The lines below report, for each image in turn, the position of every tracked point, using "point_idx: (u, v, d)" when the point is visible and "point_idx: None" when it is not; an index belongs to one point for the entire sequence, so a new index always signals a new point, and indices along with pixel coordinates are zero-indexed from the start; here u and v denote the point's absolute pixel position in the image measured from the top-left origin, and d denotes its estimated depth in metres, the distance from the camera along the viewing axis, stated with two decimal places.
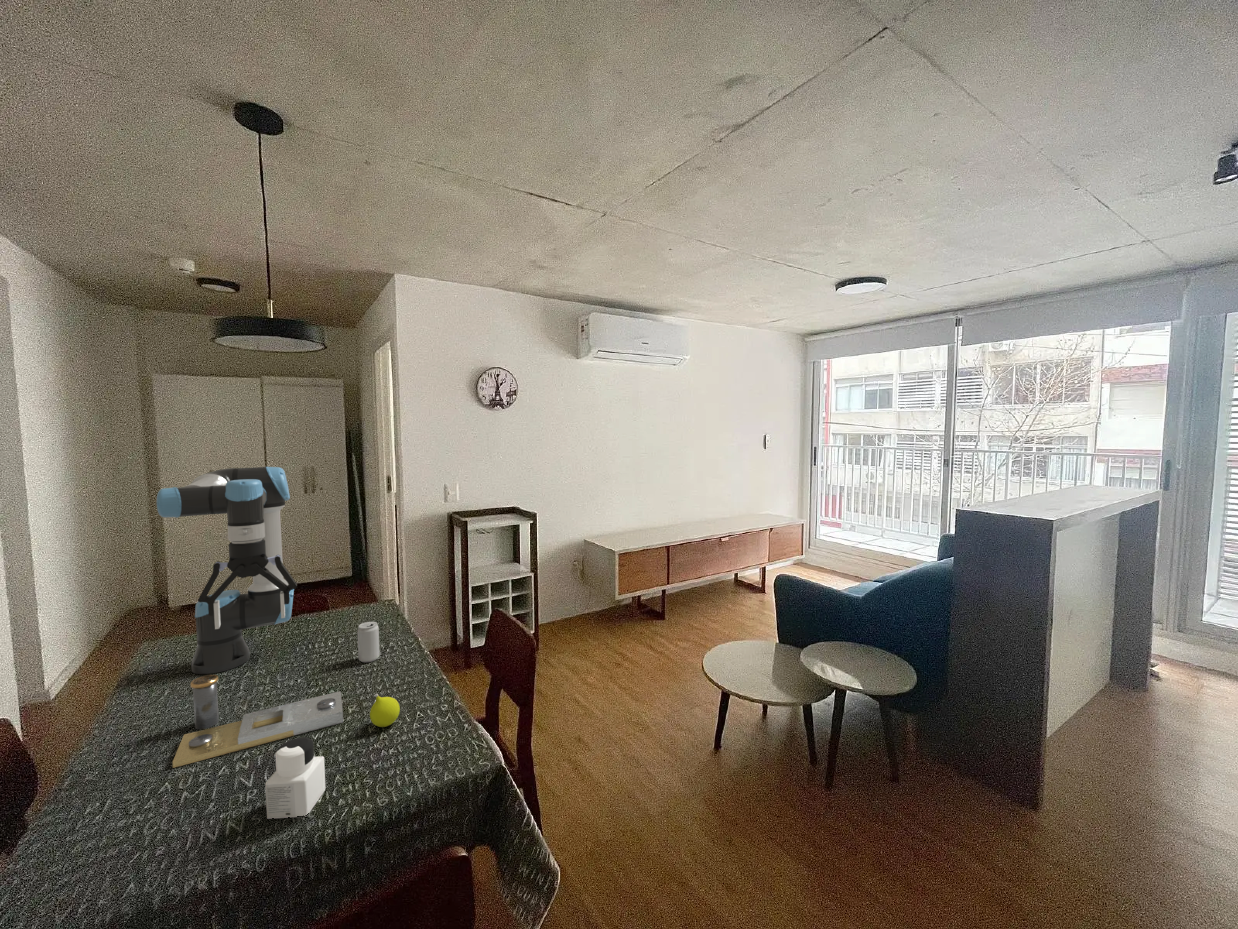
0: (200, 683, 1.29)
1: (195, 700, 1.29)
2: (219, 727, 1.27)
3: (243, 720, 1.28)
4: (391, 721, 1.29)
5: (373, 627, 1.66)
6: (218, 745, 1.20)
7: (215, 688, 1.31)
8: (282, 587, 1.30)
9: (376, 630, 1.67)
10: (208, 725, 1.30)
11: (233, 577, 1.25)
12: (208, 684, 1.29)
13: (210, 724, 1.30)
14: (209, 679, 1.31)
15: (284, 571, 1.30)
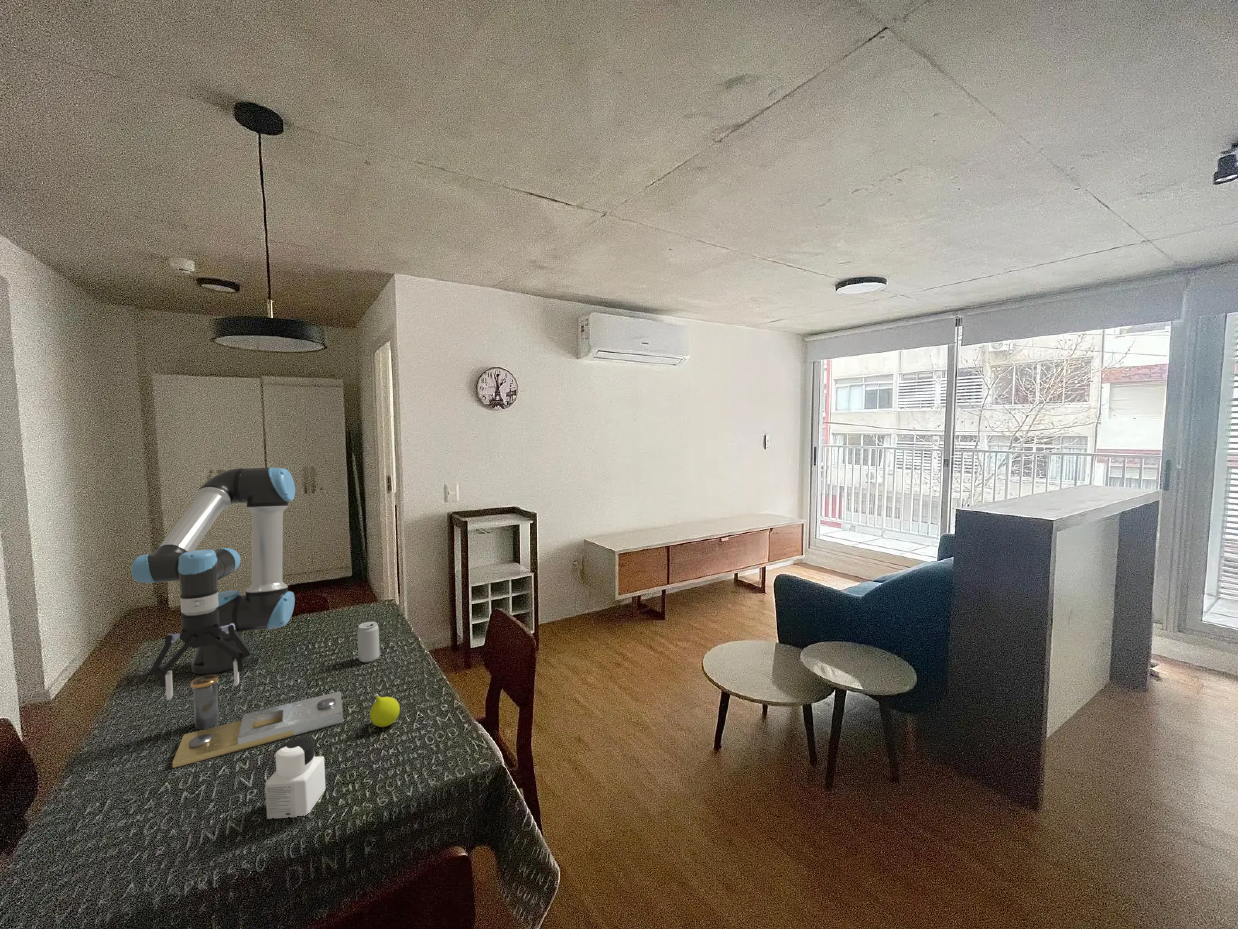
0: (200, 683, 1.29)
1: (195, 700, 1.29)
2: (219, 727, 1.27)
3: (243, 720, 1.28)
4: (391, 721, 1.29)
5: (373, 627, 1.66)
6: (218, 745, 1.20)
7: (215, 688, 1.31)
8: (235, 655, 1.33)
9: (376, 630, 1.67)
10: (208, 725, 1.30)
11: (185, 648, 1.27)
12: (208, 684, 1.29)
13: (210, 724, 1.30)
14: (209, 679, 1.31)
15: (237, 639, 1.33)
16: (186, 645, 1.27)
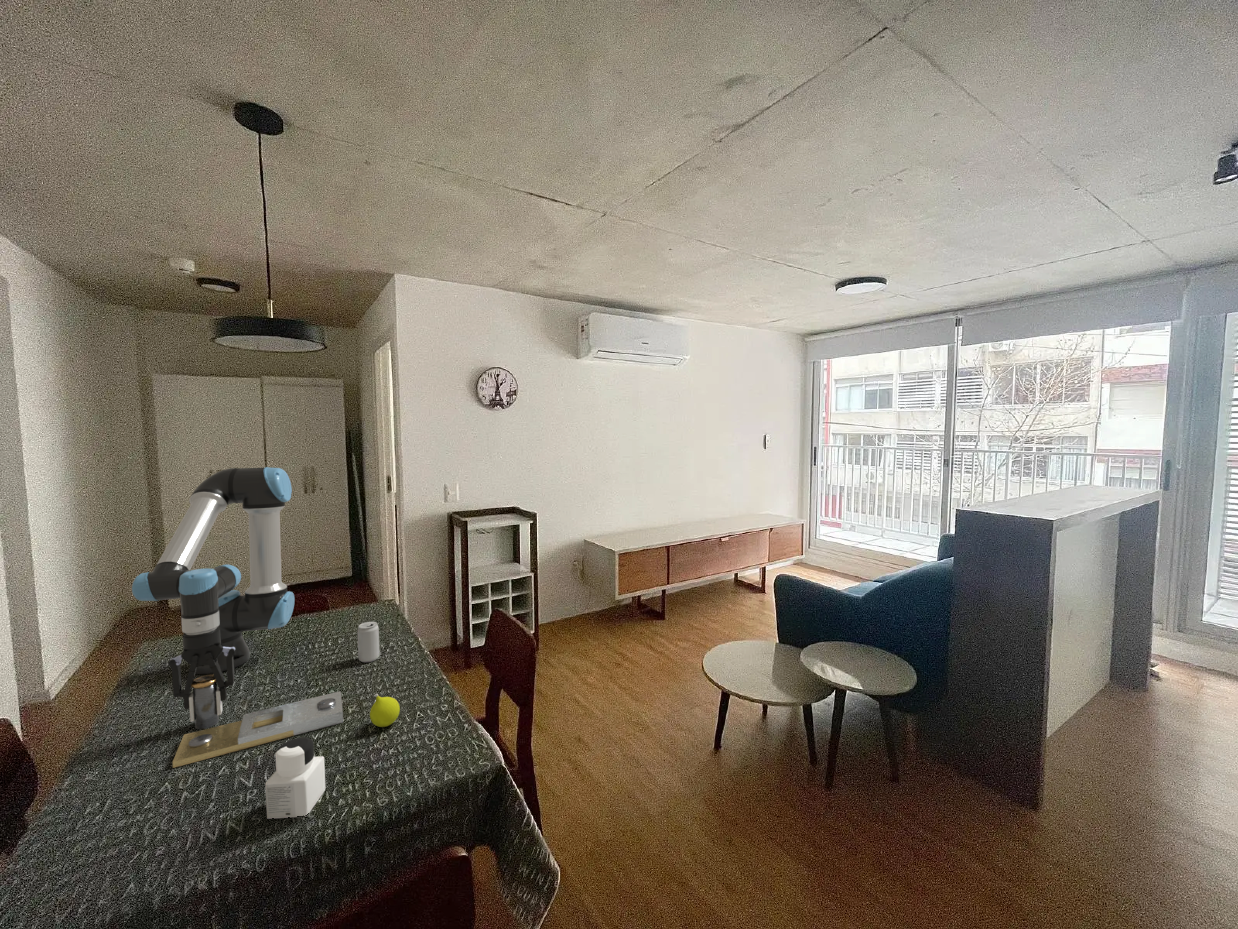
0: (200, 683, 1.29)
1: (195, 700, 1.29)
2: (219, 727, 1.27)
3: (243, 720, 1.28)
4: (391, 721, 1.29)
5: (373, 627, 1.66)
6: (218, 745, 1.20)
7: (215, 688, 1.31)
8: (220, 683, 1.31)
9: (376, 630, 1.67)
10: (208, 725, 1.30)
11: (193, 668, 1.28)
12: (208, 684, 1.29)
13: (210, 724, 1.30)
14: (209, 679, 1.31)
15: (230, 665, 1.32)
16: (192, 665, 1.28)
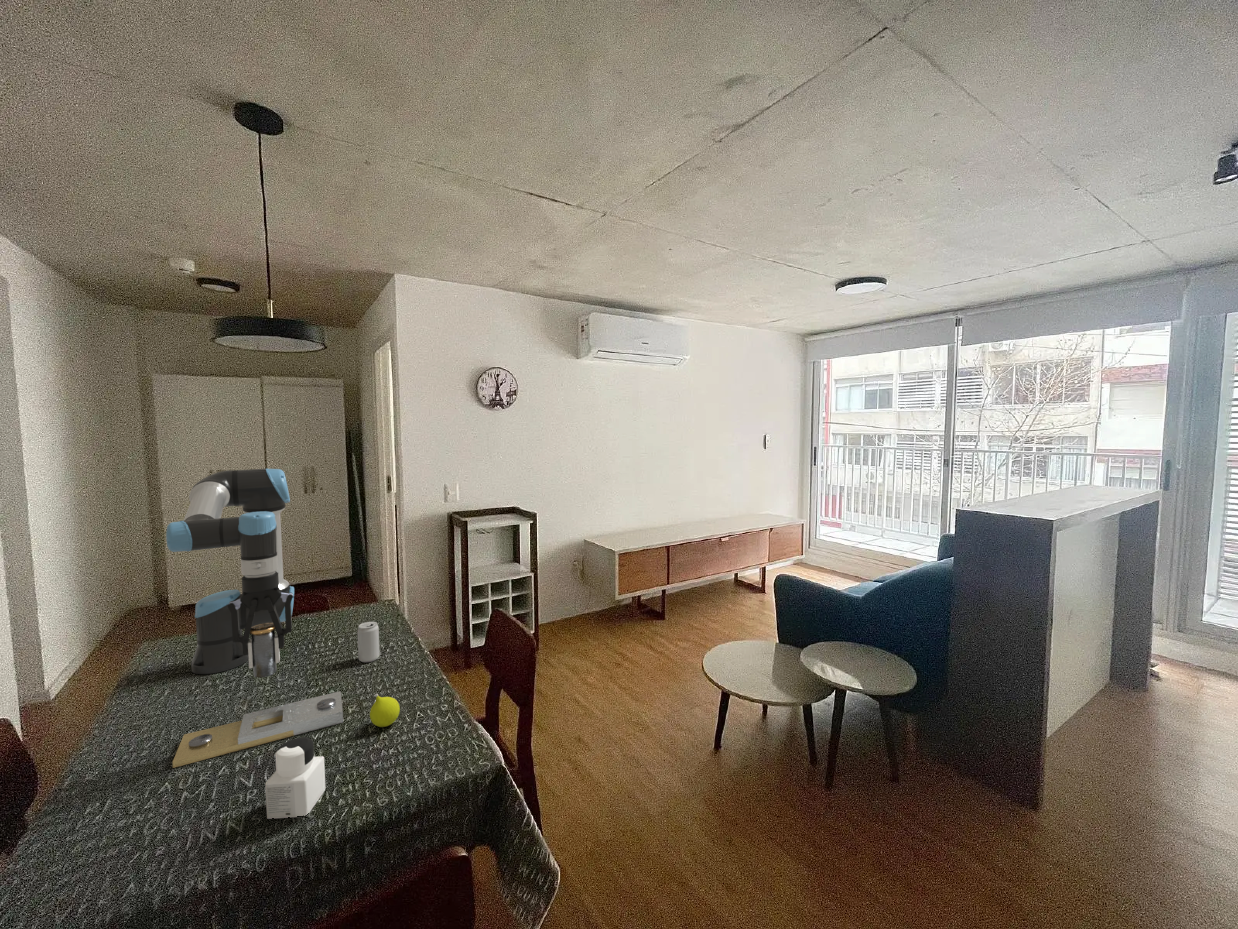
0: (259, 629, 1.25)
1: (254, 647, 1.24)
2: (219, 727, 1.27)
3: (243, 720, 1.28)
4: (391, 721, 1.29)
5: (373, 627, 1.66)
6: (218, 745, 1.20)
7: (273, 636, 1.27)
8: (279, 630, 1.27)
9: (376, 630, 1.67)
10: (267, 673, 1.26)
11: (252, 612, 1.24)
12: (267, 631, 1.25)
13: (269, 672, 1.26)
14: (267, 626, 1.27)
15: (289, 612, 1.28)
16: (251, 610, 1.24)
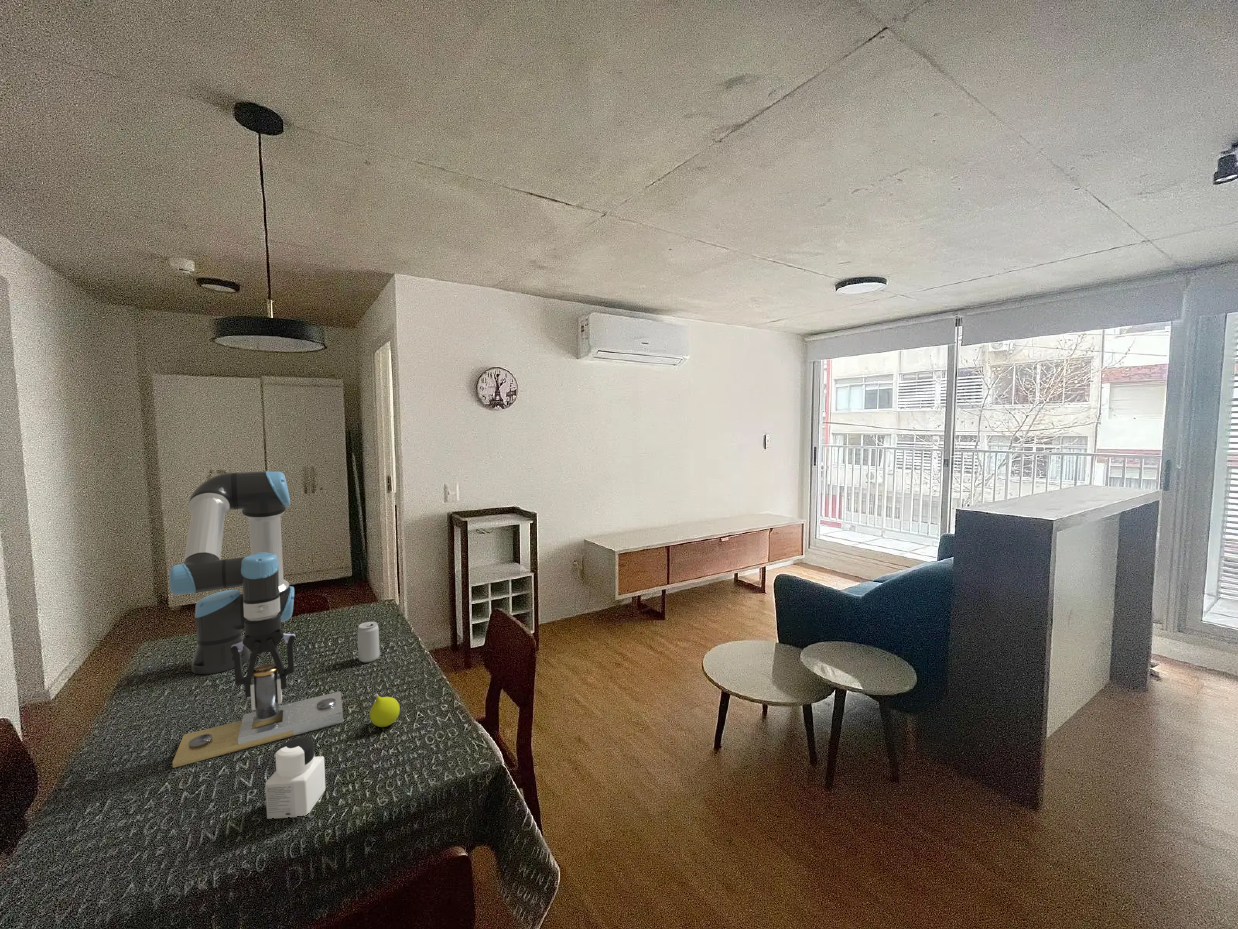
0: (262, 672, 1.25)
1: (256, 689, 1.25)
2: (219, 727, 1.27)
3: (243, 720, 1.28)
4: (391, 721, 1.29)
5: (373, 627, 1.66)
6: (218, 745, 1.20)
7: (276, 677, 1.28)
8: (281, 671, 1.28)
9: (376, 630, 1.67)
10: (270, 715, 1.26)
11: (255, 655, 1.25)
12: (270, 673, 1.26)
13: (271, 713, 1.27)
14: (270, 668, 1.27)
15: (291, 652, 1.29)
16: (254, 652, 1.25)
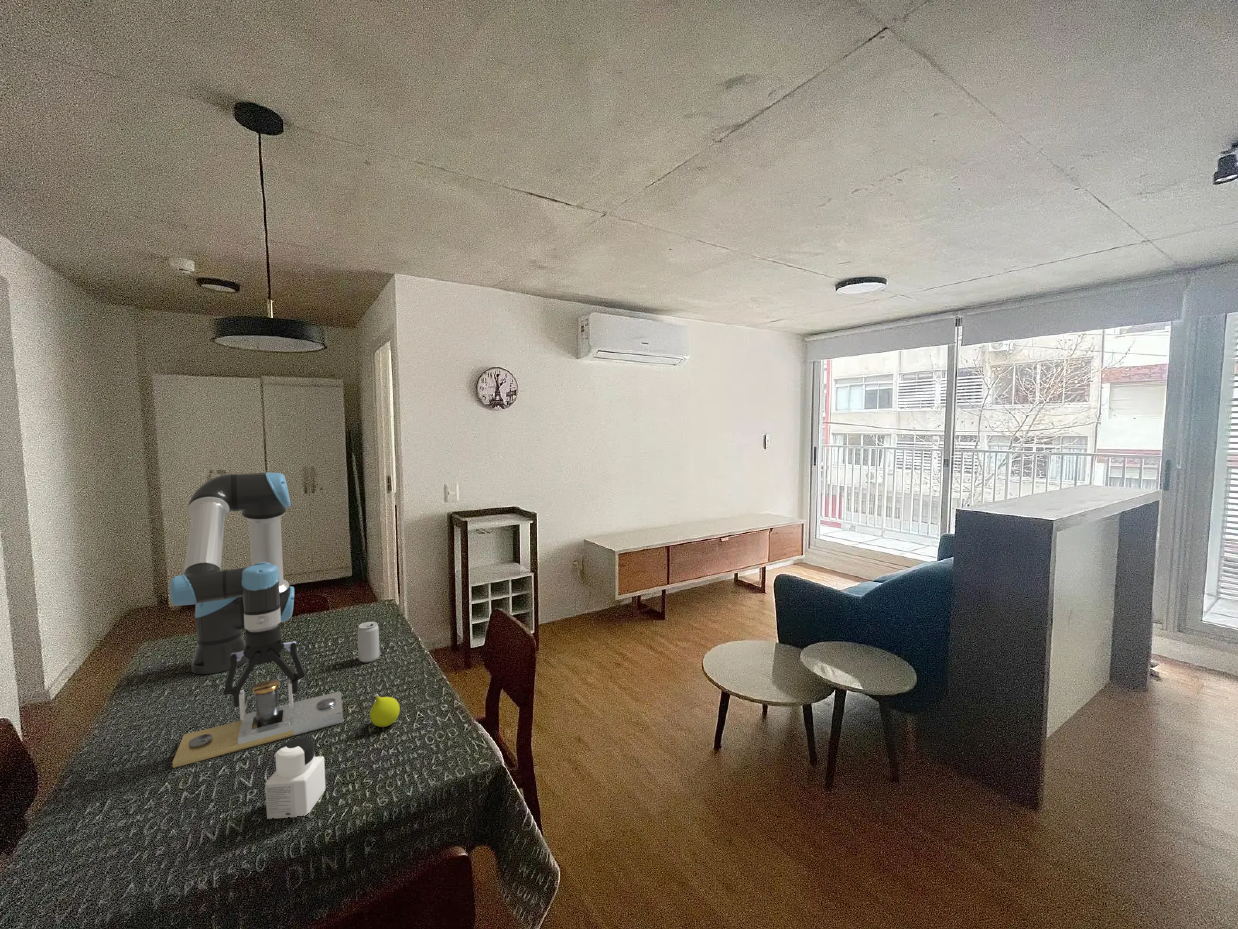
0: (263, 689, 1.26)
1: (257, 706, 1.26)
2: (219, 727, 1.27)
3: (243, 720, 1.28)
4: (391, 721, 1.29)
5: (373, 627, 1.66)
6: (218, 745, 1.20)
7: (277, 694, 1.28)
8: (291, 676, 1.29)
9: (376, 630, 1.67)
10: None
11: (252, 666, 1.24)
12: (271, 690, 1.26)
13: None
14: (271, 685, 1.28)
15: (296, 659, 1.30)
16: (252, 663, 1.24)
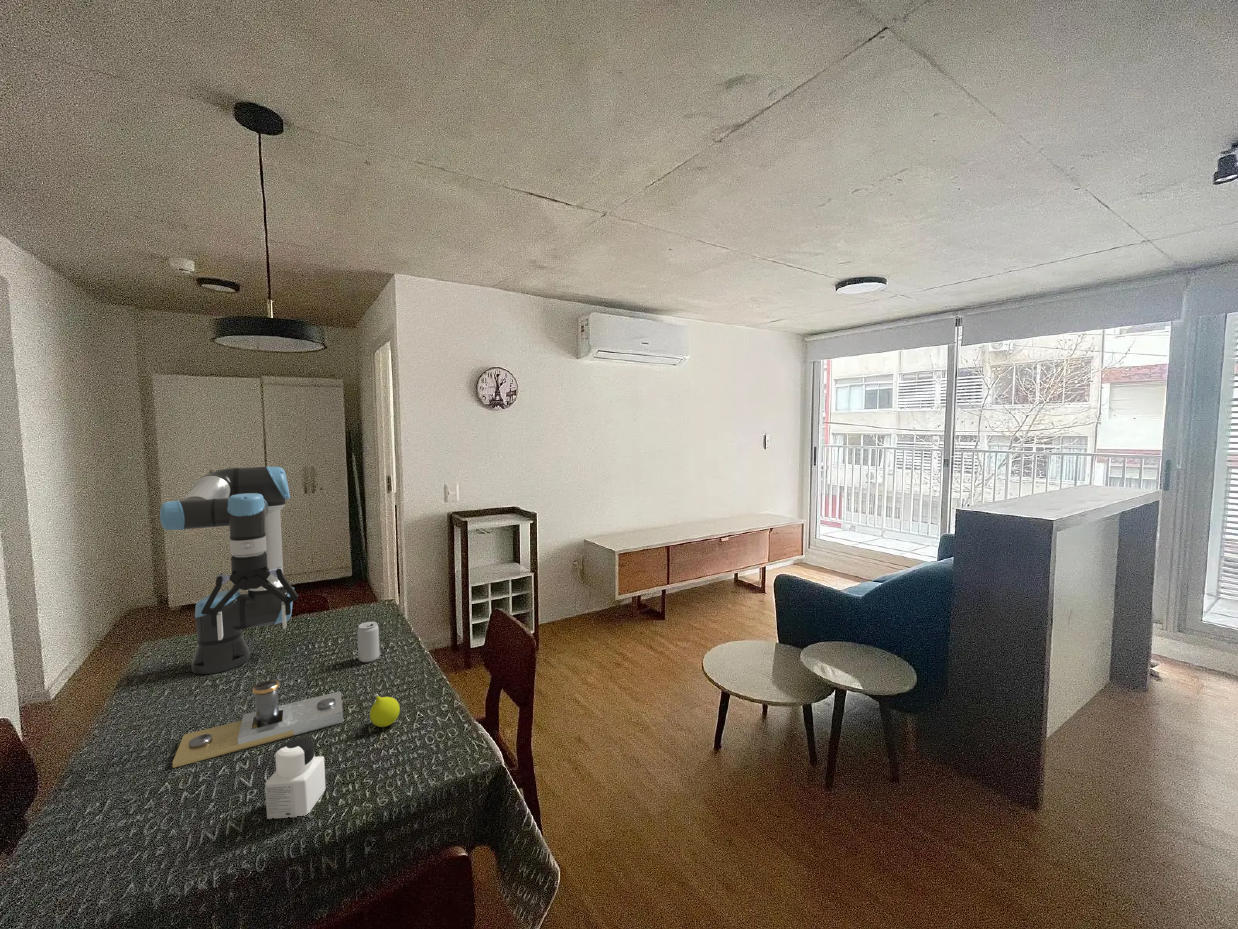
0: (262, 689, 1.26)
1: (257, 706, 1.26)
2: (219, 727, 1.27)
3: (243, 720, 1.28)
4: (391, 721, 1.29)
5: (373, 627, 1.66)
6: (218, 745, 1.20)
7: (276, 694, 1.28)
8: (283, 599, 1.33)
9: (376, 630, 1.67)
10: None
11: (236, 590, 1.27)
12: (270, 690, 1.26)
13: None
14: (271, 685, 1.28)
15: (285, 583, 1.33)
16: (236, 587, 1.27)
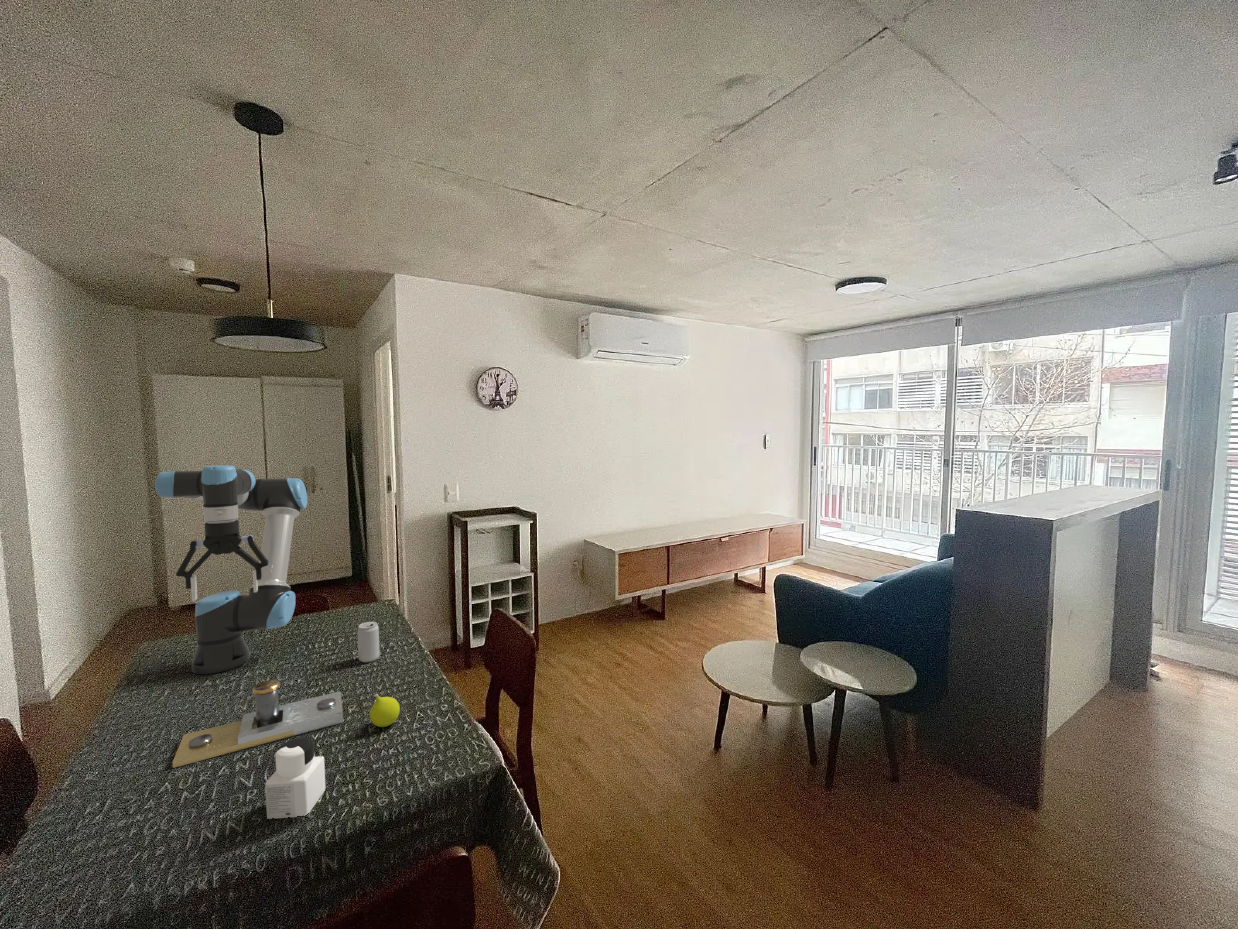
0: (262, 689, 1.26)
1: (257, 706, 1.26)
2: (219, 727, 1.27)
3: (243, 720, 1.28)
4: (391, 721, 1.29)
5: (373, 627, 1.66)
6: (218, 745, 1.20)
7: (277, 694, 1.28)
8: (254, 564, 1.43)
9: (376, 630, 1.67)
10: None
11: (208, 554, 1.37)
12: (270, 690, 1.26)
13: None
14: (271, 685, 1.28)
15: (256, 549, 1.43)
16: (209, 551, 1.37)
